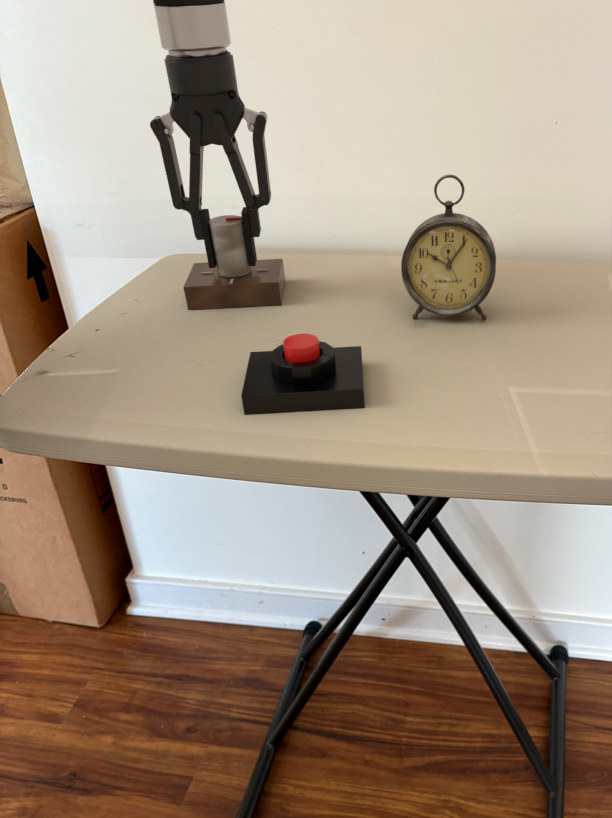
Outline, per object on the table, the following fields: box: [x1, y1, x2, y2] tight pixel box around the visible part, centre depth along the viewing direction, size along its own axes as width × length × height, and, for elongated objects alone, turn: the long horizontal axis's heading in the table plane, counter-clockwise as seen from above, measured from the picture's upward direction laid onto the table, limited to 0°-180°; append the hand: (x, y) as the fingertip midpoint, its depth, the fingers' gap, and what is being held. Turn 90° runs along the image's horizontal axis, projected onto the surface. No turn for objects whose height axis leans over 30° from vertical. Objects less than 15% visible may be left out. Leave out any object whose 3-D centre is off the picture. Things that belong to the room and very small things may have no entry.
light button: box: [282, 333, 320, 363], centre depth 77 cm, size 4×4×2 cm
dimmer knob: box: [208, 214, 252, 278], centre depth 97 cm, size 4×4×7 cm
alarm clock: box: [400, 174, 497, 321], centre depth 88 cm, size 11×5×16 cm, turn 83°
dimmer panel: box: [183, 258, 286, 311], centre depth 100 cm, size 12×9×3 cm
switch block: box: [240, 340, 366, 416], centre depth 78 cm, size 12×10×4 cm
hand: (233, 263), depth 98 cm, fingers closed on dimmer knob, 4 cm apart
